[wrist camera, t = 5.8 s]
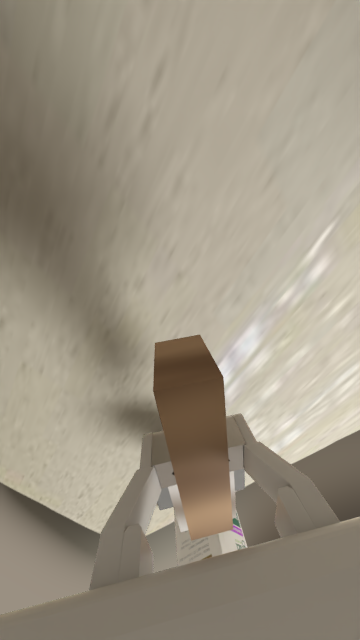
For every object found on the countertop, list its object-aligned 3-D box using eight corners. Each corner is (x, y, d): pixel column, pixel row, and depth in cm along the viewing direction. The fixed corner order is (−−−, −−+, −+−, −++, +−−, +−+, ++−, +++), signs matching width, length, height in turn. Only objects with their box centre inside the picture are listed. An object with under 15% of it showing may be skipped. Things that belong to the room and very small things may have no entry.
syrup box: (214, 434, 30) (262, 581, 16) (189, 453, 31) (214, 607, 17) (194, 419, 28) (228, 570, 14) (168, 439, 29) (176, 599, 15)
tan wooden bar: (132, 347, 9) (117, 398, 6) (221, 330, 9) (256, 370, 6) (179, 518, 15) (185, 591, 12) (232, 505, 16) (252, 572, 12)
